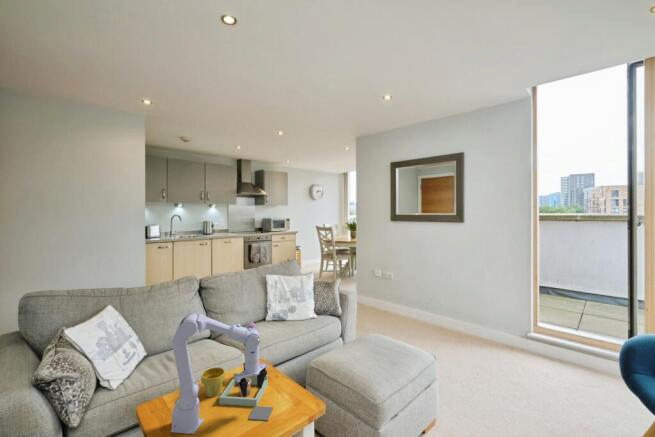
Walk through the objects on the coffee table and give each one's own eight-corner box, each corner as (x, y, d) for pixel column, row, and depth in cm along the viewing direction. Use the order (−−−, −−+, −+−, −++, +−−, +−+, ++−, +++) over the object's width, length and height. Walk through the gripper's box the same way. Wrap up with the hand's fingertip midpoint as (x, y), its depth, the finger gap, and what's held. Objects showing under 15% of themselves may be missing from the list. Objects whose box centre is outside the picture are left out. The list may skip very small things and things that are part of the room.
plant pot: (219, 400, 135) (219, 378, 134) (197, 399, 135) (197, 378, 135) (228, 387, 145) (228, 367, 145) (207, 386, 145) (207, 366, 145)
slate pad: (248, 419, 122) (248, 418, 122) (255, 407, 130) (255, 406, 130) (267, 421, 121) (267, 419, 121) (272, 408, 129) (272, 407, 129)
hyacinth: (262, 371, 159) (263, 316, 159) (256, 382, 149) (256, 323, 149) (247, 370, 160) (247, 315, 160) (239, 381, 150) (239, 322, 150)
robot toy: (196, 398, 137) (196, 393, 137) (185, 416, 125) (185, 410, 125) (180, 398, 137) (180, 393, 137) (167, 416, 125) (167, 410, 125)
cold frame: (219, 404, 132) (219, 393, 132) (234, 382, 149) (234, 372, 149) (256, 406, 130) (256, 395, 130) (267, 384, 147) (267, 374, 147)
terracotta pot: (236, 397, 137) (236, 384, 137) (241, 389, 143) (241, 377, 143) (248, 398, 136) (248, 385, 136) (252, 390, 142) (252, 378, 142)
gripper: (242, 369, 117) (242, 403, 117) (271, 356, 128) (271, 387, 128) (232, 363, 121) (232, 396, 121) (261, 351, 132) (261, 381, 132)
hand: (252, 391), depth 125 cm, fingers open, 7 cm apart
